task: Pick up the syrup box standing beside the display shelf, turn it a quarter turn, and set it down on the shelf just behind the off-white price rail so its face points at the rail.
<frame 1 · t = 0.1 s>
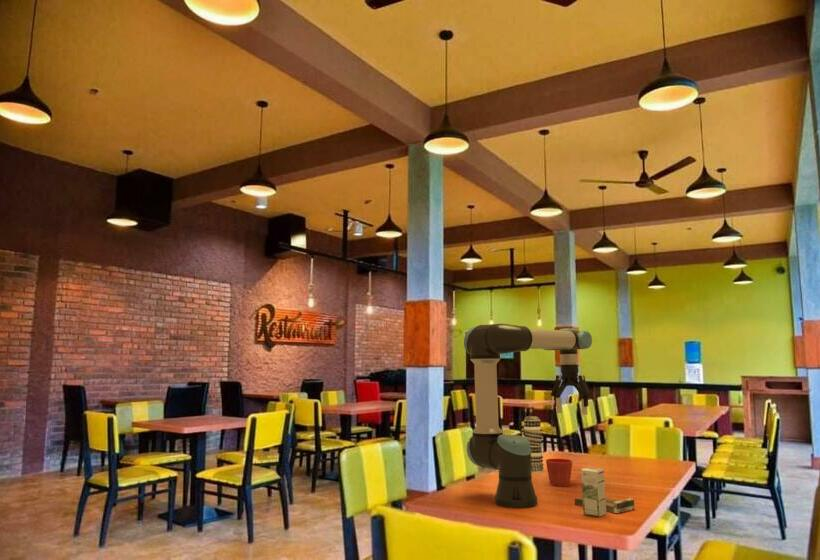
hand: (571, 413, 252), 28 cm above the table, tool pointing down, fingers open, 13 cm apart
decorative candle: (534, 472, 271), on the table
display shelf: (602, 506, 203), on the table
flower pot: (560, 484, 242), on the table
syrup box: (595, 515, 192), on the table
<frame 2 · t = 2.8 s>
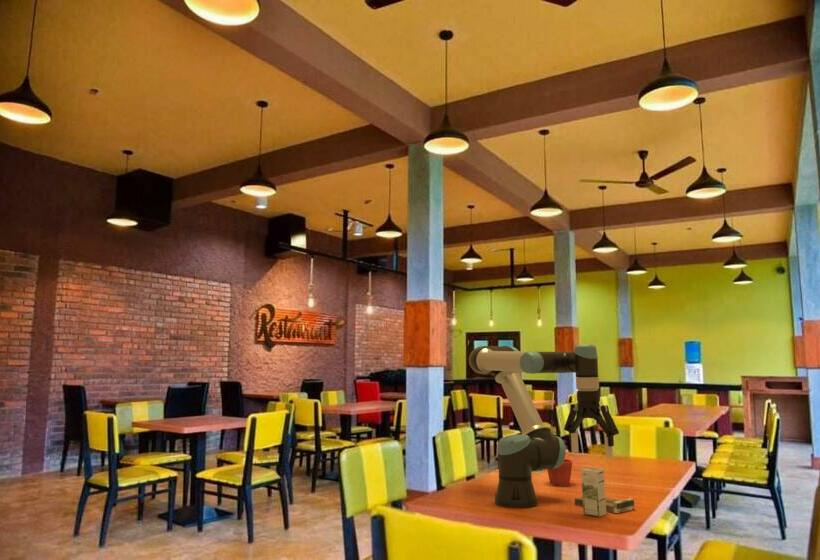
hand: (591, 454, 196), 19 cm above the table, tool pointing down, fingers open, 13 cm apart
nothing on the table moved.
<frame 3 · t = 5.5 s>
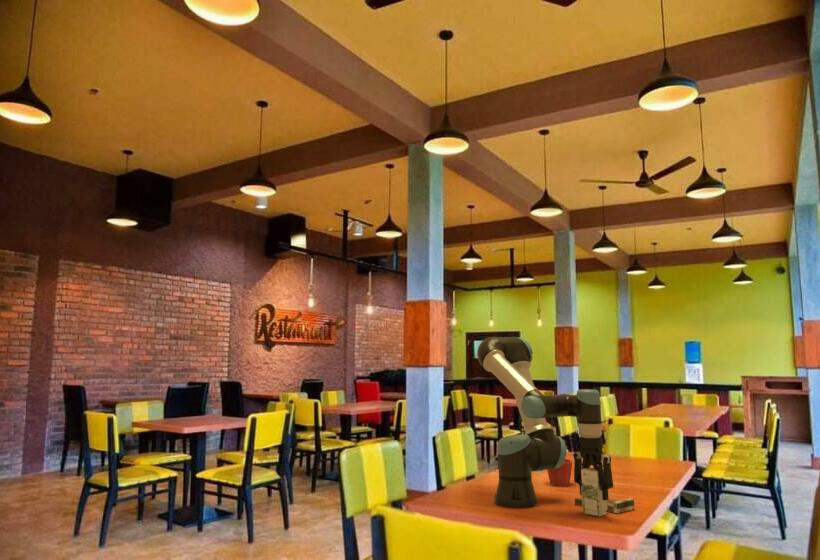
hand: (594, 508, 193), 2 cm above the table, tool pointing down, fingers closed on syrup box, 6 cm apart
syrup box: (595, 514, 192), on the table, touching gripper
everything else where it was.
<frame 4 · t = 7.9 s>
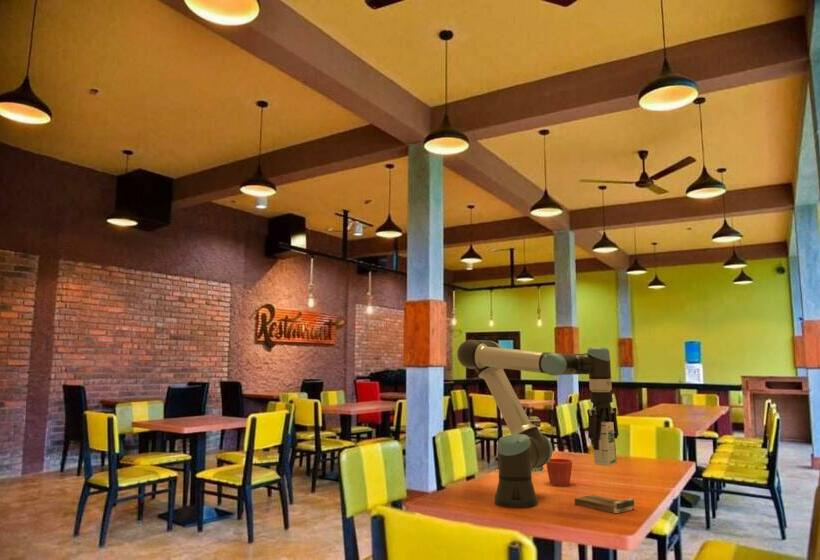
hand: (604, 458, 203), 16 cm above the table, tool pointing down, fingers closed on syrup box, 6 cm apart
syrup box: (605, 464, 203), point 14 cm above the table, touching gripper
everything else where it was.
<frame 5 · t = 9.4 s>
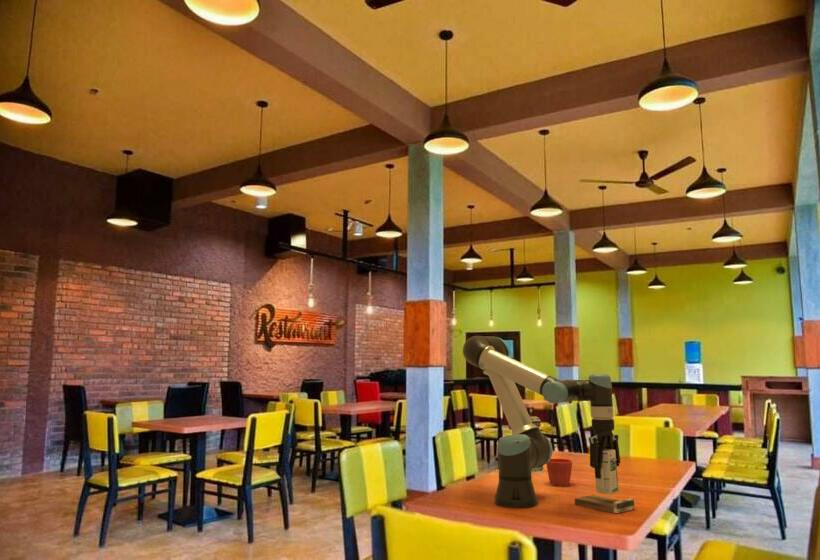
hand: (606, 486, 202), 7 cm above the table, tool pointing down, fingers closed on syrup box, 6 cm apart
syrup box: (607, 493, 202), point 5 cm above the table, touching gripper
everything else where it was.
when the fingers open (5 cm above the table, at t = 10.5 s): syrup box drops 1 cm, resting on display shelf.
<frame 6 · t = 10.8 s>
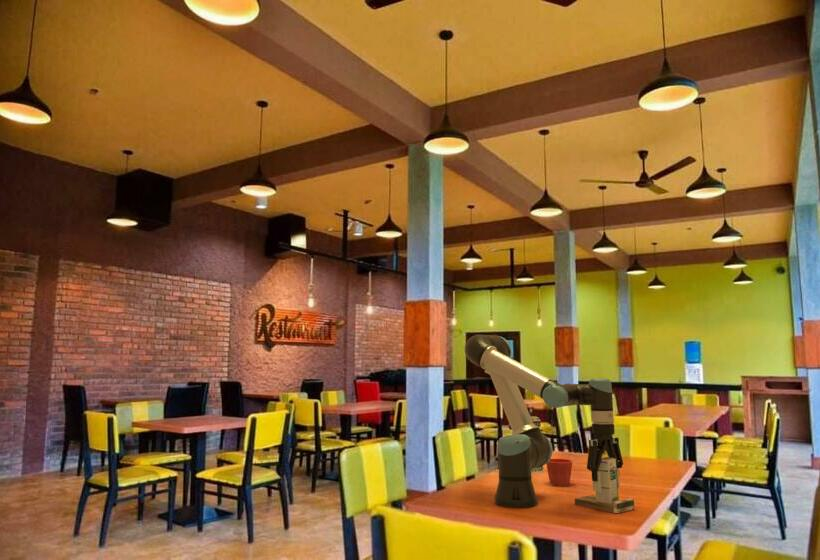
hand: (606, 488, 202), 6 cm above the table, tool pointing down, fingers open, 10 cm apart
syrup box: (607, 502, 201), point 2 cm above the table, touching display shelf
everything else where it was.
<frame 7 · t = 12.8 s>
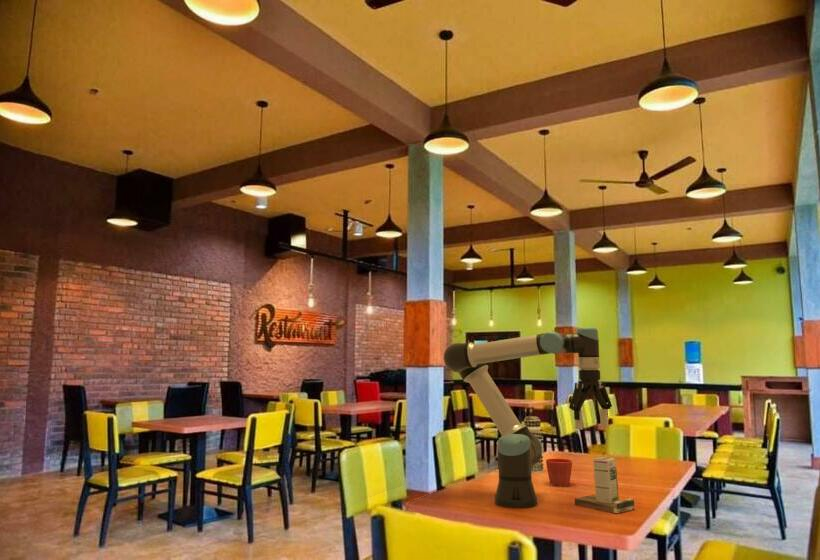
hand: (591, 428, 213), 26 cm above the table, tool pointing down, fingers open, 13 cm apart
nothing on the table moved.
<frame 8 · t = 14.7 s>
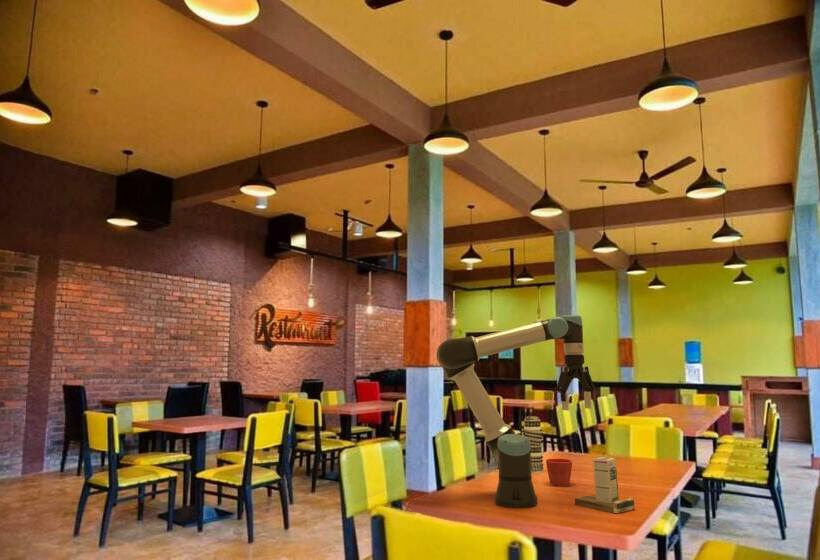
hand: (576, 409, 227), 32 cm above the table, tool pointing down, fingers open, 13 cm apart
nothing on the table moved.
at the end: syrup box inside the target area (0.5 cm from its centre), point 1.8 cm above the table; syrup box tilted 0°; the gripper is holding nothing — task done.
